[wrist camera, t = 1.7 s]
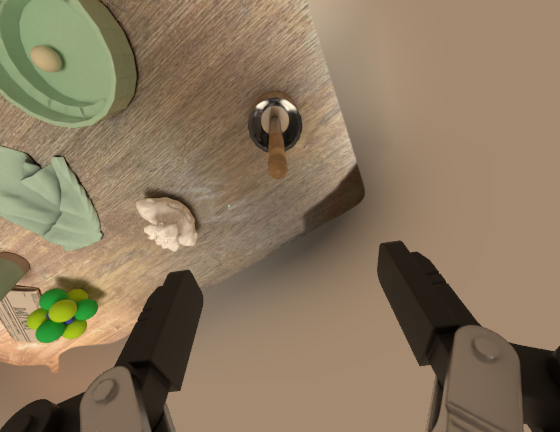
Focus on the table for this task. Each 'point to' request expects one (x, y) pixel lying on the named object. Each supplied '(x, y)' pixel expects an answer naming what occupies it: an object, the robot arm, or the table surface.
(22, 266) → the coffee cup
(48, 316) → the molecule model
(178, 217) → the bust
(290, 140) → the crock
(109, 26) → the bowl
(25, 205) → the cloth
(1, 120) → the table surface
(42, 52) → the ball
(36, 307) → the newspaper
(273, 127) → the wooden plunger
